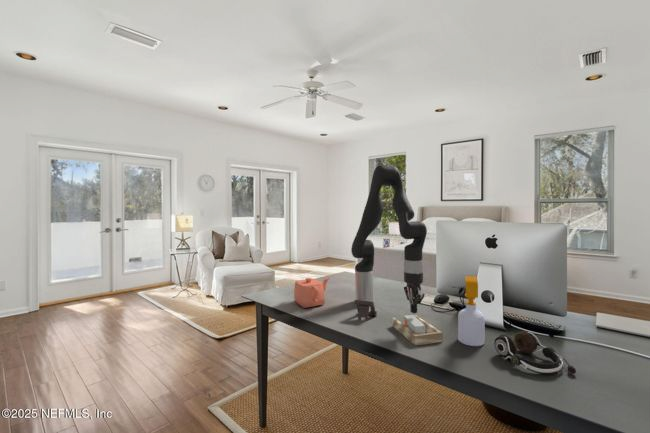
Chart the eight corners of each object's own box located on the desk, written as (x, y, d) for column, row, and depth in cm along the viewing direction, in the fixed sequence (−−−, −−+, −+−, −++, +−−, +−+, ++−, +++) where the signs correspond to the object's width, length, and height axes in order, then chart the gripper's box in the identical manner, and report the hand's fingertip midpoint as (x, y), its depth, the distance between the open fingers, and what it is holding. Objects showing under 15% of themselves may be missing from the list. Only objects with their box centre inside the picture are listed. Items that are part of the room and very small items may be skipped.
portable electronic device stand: (377, 315, 149) (376, 298, 149) (372, 321, 142) (372, 303, 142) (359, 313, 153) (359, 296, 152) (353, 319, 146) (353, 301, 145)
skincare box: (403, 315, 132) (414, 326, 121) (413, 314, 133) (425, 325, 121) (403, 329, 133) (415, 342, 121) (413, 329, 133) (425, 341, 121)
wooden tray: (392, 326, 137) (392, 318, 136) (416, 323, 139) (416, 315, 139) (415, 345, 118) (415, 336, 118) (442, 341, 121) (442, 332, 120)
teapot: (339, 305, 165) (338, 279, 165) (305, 311, 157) (304, 284, 156) (322, 295, 183) (322, 271, 183) (290, 300, 175) (290, 276, 174)
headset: (527, 324, 115) (587, 358, 96) (524, 344, 116) (582, 380, 98) (490, 331, 109) (545, 369, 91) (487, 352, 111) (541, 392, 92)
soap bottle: (482, 337, 123) (482, 275, 122) (486, 348, 114) (486, 280, 113) (457, 335, 126) (457, 273, 125) (459, 345, 117) (458, 279, 116)
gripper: (397, 268, 134) (397, 308, 135) (413, 274, 122) (413, 319, 122) (413, 266, 136) (413, 306, 137) (430, 273, 123) (431, 317, 124)
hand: (413, 312), depth 130 cm, fingers closed
